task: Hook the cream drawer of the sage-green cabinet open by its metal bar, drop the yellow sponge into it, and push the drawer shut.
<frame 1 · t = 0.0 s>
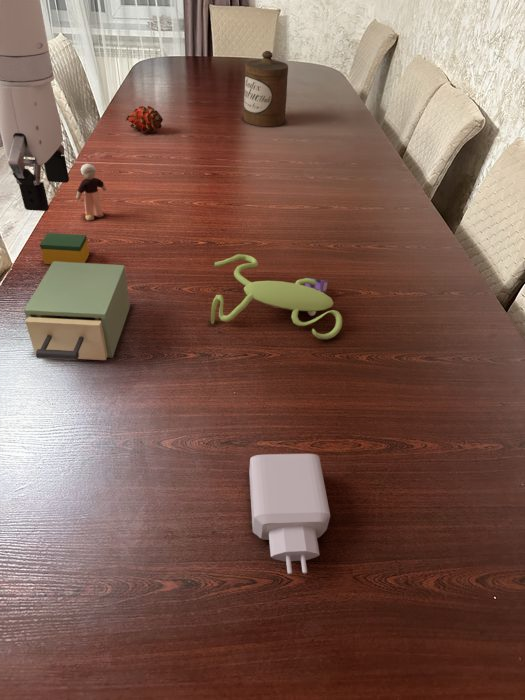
hand: (48, 194, 77), 25 cm above the table, tool pointing down, fingers open, 9 cm apart
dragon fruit: (145, 132, 172), on the table
wooden container: (264, 120, 188), on the table
figurine: (270, 306, 102), on the table
drawer: (74, 324, 86), point 5 cm above the table, slide at 0.5 cm
sponge: (67, 258, 110), on the table
charger: (288, 525, 66), on the table
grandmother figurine: (96, 216, 125), on the table
cabinet: (86, 328, 93), on the table
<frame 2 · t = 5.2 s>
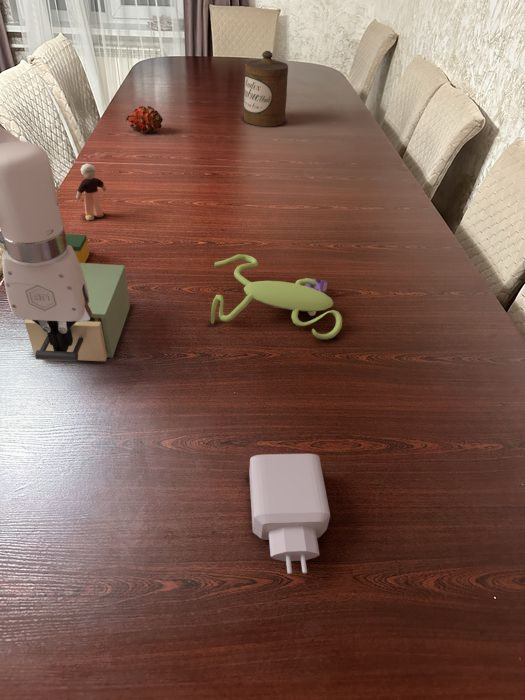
hand: (63, 347, 81), 5 cm above the table, tool pointing down, fingers closed
nothing on the table moved.
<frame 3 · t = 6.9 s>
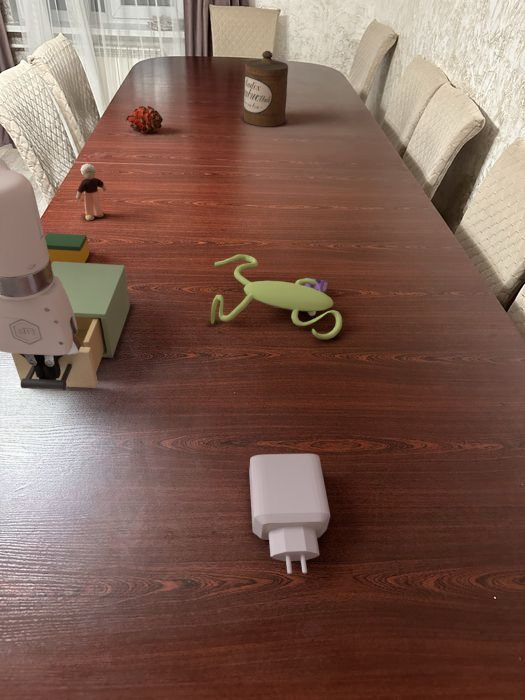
hand: (50, 379, 77), 4 cm above the table, tool pointing down, fingers closed
drawer: (62, 350, 81), point 5 cm above the table, slide at 6.9 cm
everything else where it was.
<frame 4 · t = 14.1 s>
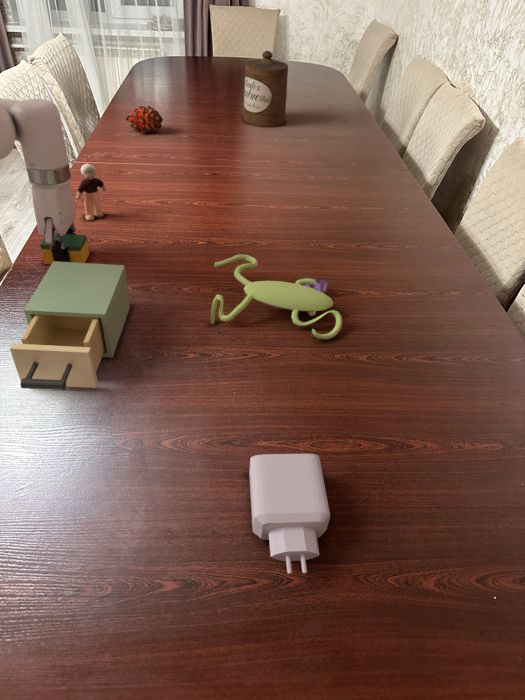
hand: (66, 256, 109), 1 cm above the table, tool pointing down, fingers closed on sponge, 5 cm apart
sponge: (67, 258, 110), on the table, touching gripper
everything else where it was.
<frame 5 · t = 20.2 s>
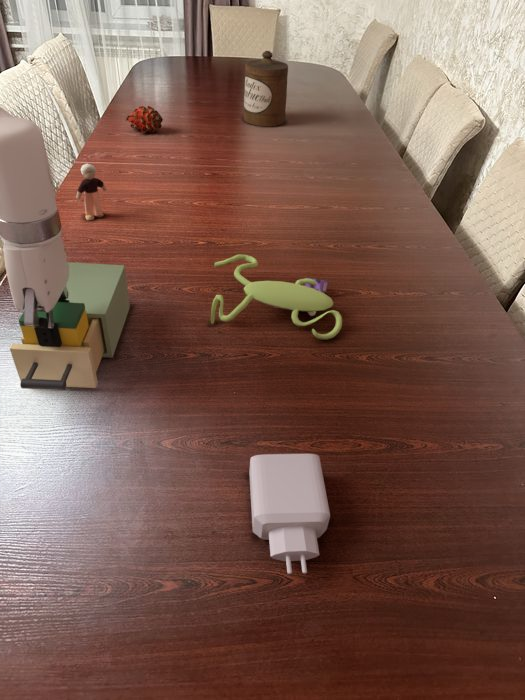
hand: (56, 332, 79), 8 cm above the table, tool pointing down, fingers closed on sponge, 5 cm apart
sponge: (58, 335, 79), point 8 cm above the table, touching gripper
everything else where it was.
when the fingers open (11 cm above the table, at t = 34.8 s): sponge drops 8 cm, resting on drawer.
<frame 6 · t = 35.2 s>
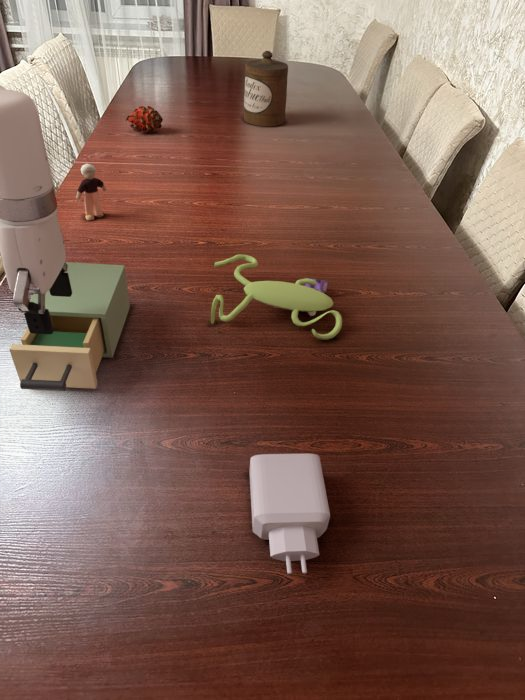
hand: (52, 312, 76), 12 cm above the table, tool pointing down, fingers open, 8 cm apart
drawer: (62, 350, 81), point 5 cm above the table, slide at 7.1 cm, touching sponge
sponge: (65, 363, 83), point 2 cm above the table, touching drawer
everything else where it was.
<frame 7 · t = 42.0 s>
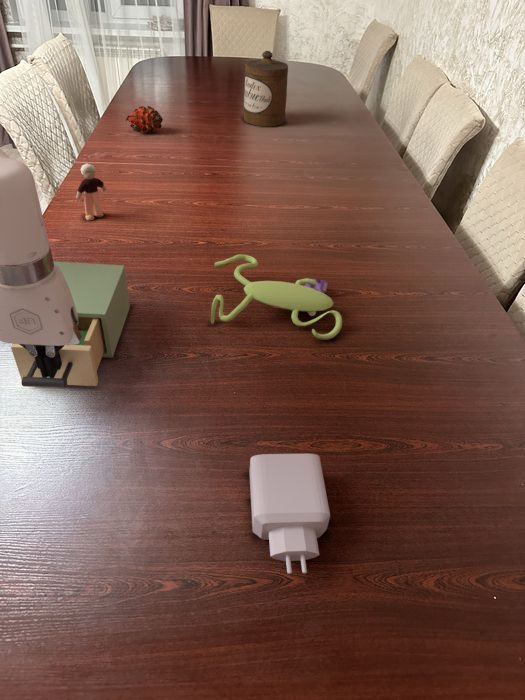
hand: (51, 371, 77), 5 cm above the table, tool pointing down, fingers closed
drawer: (63, 348, 82), point 5 cm above the table, slide at 6.6 cm, touching sponge
everything else where it was.
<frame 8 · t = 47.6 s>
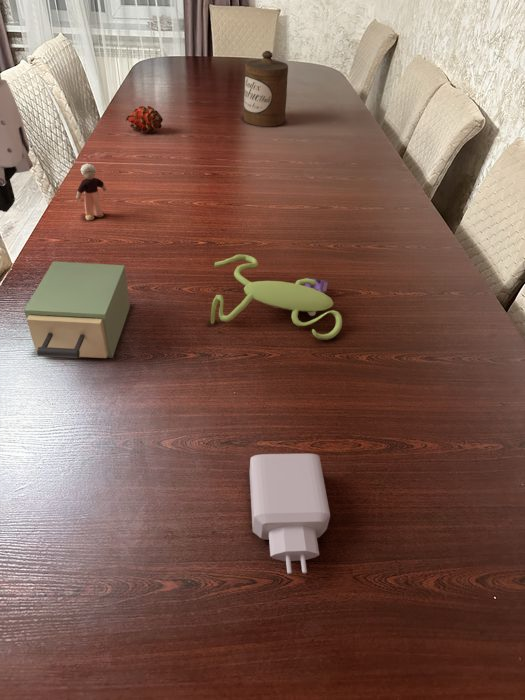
hand: (4, 207, 77), 23 cm above the table, tool pointing down, fingers closed
drawer: (75, 323, 87), point 5 cm above the table, slide at 0.0 cm, touching sponge
sponge: (78, 335, 88), point 2 cm above the table, touching drawer
everything else where it was.
at the end: drawer pulled out 7.1 cm at the most during the clip, back to where it started at the end; sponge inside the target area in the cabinet (4.4 cm from its centre), point 2.0 cm above the cabinet's base; drawer slide at 0.0 cm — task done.
